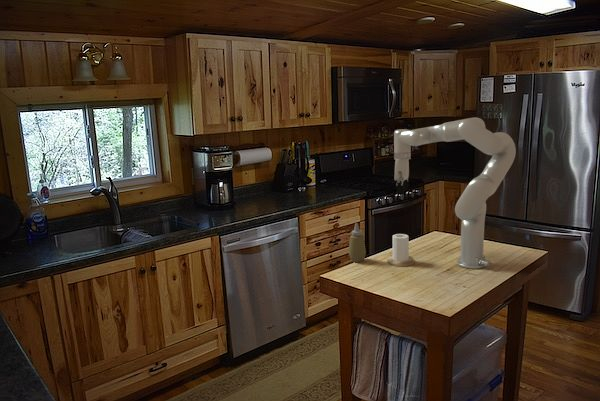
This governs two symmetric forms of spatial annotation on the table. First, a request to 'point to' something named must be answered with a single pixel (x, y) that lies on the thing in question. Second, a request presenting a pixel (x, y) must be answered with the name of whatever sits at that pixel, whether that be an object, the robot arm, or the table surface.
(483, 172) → the robot arm
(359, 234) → the squeeze bottle
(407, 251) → the paper roll
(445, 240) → the table surface
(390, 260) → the roll stand
